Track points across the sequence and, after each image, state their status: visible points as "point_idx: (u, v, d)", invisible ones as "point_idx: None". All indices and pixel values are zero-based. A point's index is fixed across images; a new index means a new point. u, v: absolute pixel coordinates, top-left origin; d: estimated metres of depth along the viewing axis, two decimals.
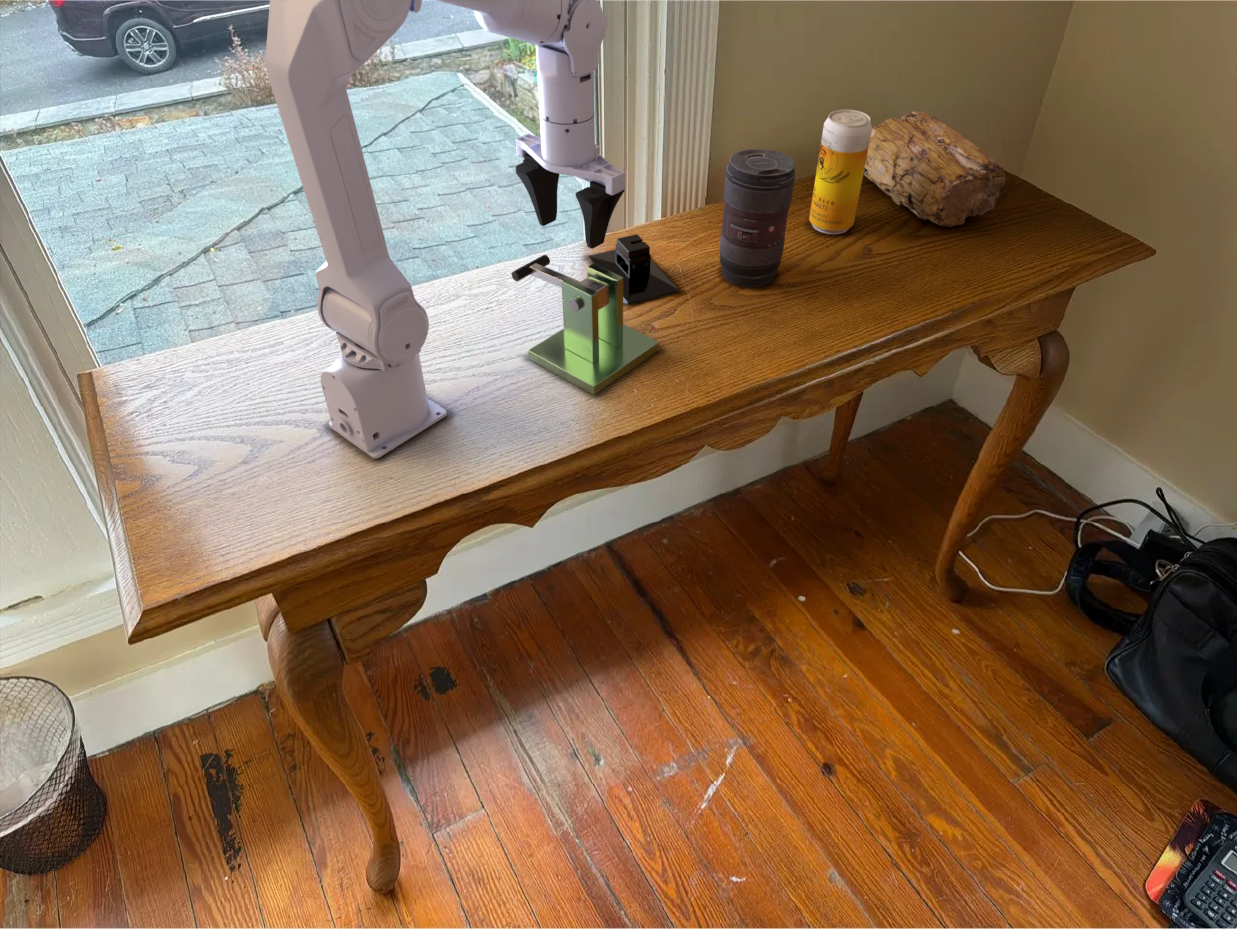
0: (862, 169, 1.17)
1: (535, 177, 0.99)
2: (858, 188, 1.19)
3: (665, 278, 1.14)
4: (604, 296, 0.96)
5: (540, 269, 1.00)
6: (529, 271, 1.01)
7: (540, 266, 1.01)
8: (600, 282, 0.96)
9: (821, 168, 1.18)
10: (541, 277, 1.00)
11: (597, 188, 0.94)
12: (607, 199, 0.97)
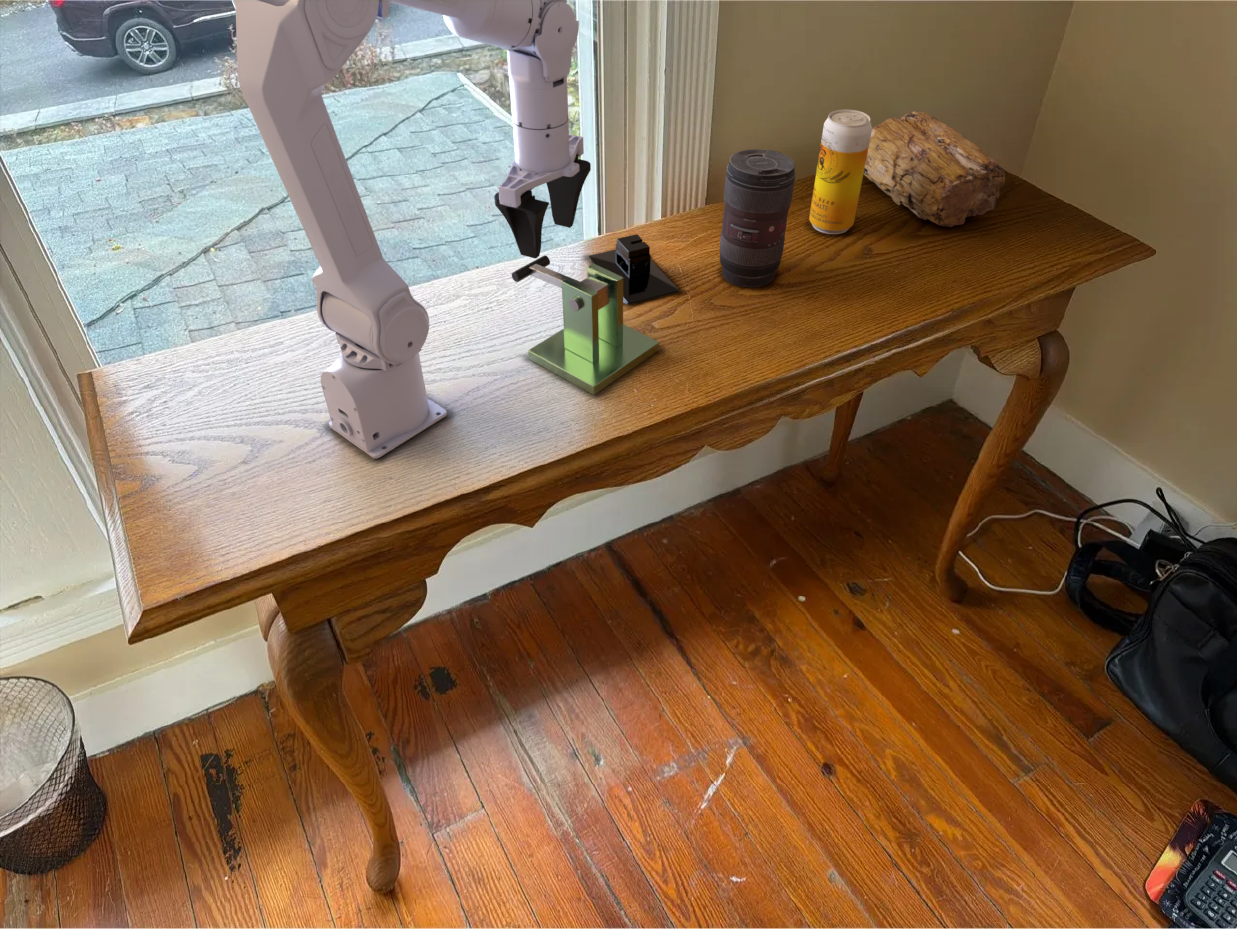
0: (862, 169, 1.17)
1: None
2: (858, 188, 1.19)
3: (665, 278, 1.14)
4: (604, 296, 0.96)
5: (540, 270, 1.00)
6: (529, 272, 1.01)
7: (540, 267, 1.01)
8: (600, 282, 0.96)
9: (821, 168, 1.18)
10: (541, 278, 1.01)
11: None
12: None
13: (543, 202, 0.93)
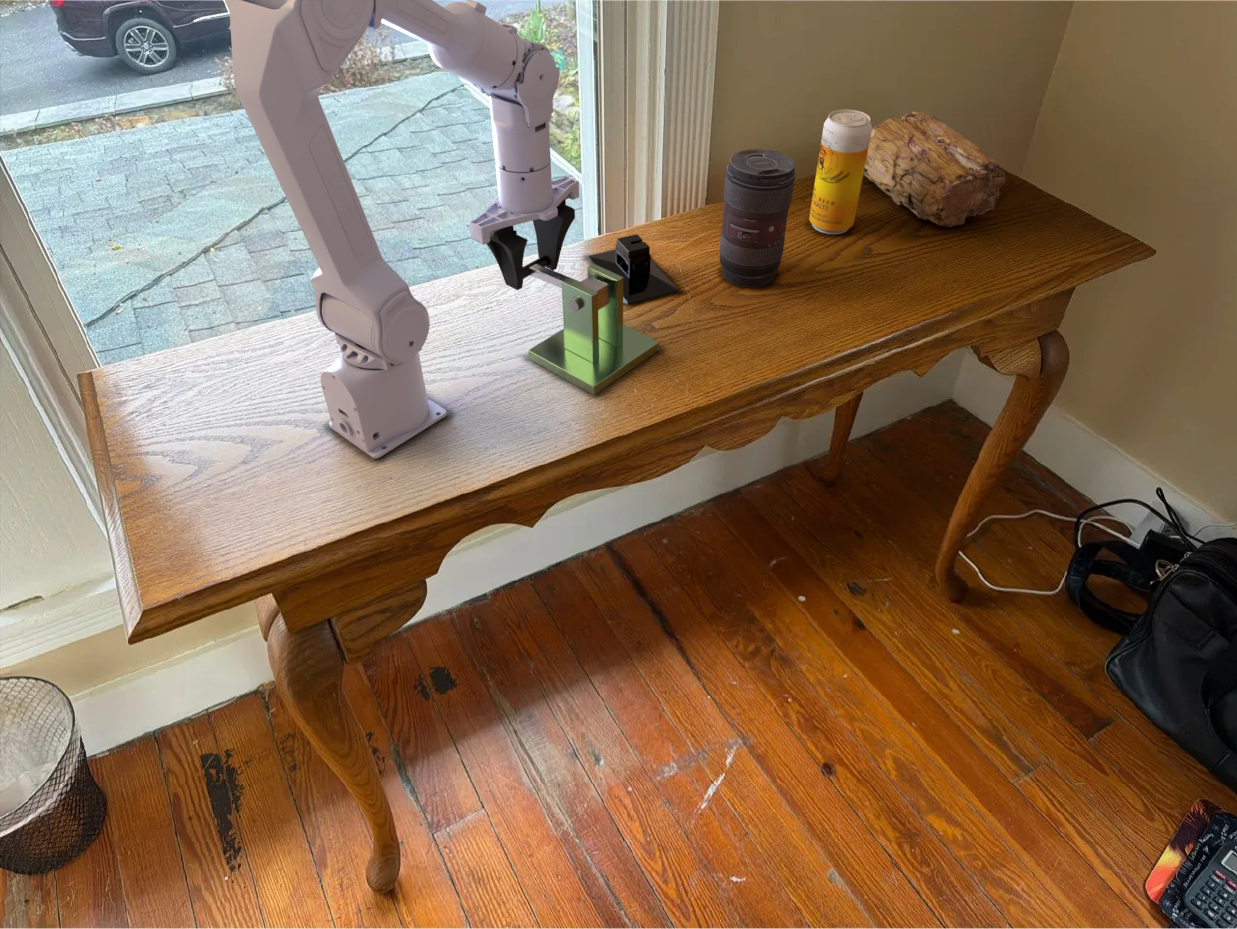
0: (862, 169, 1.17)
1: None
2: (858, 188, 1.19)
3: (665, 278, 1.14)
4: (604, 296, 0.96)
5: (540, 270, 1.00)
6: (529, 272, 1.01)
7: (540, 267, 1.01)
8: (600, 282, 0.96)
9: (821, 168, 1.18)
10: (541, 278, 1.01)
11: None
12: None
13: (521, 238, 0.95)
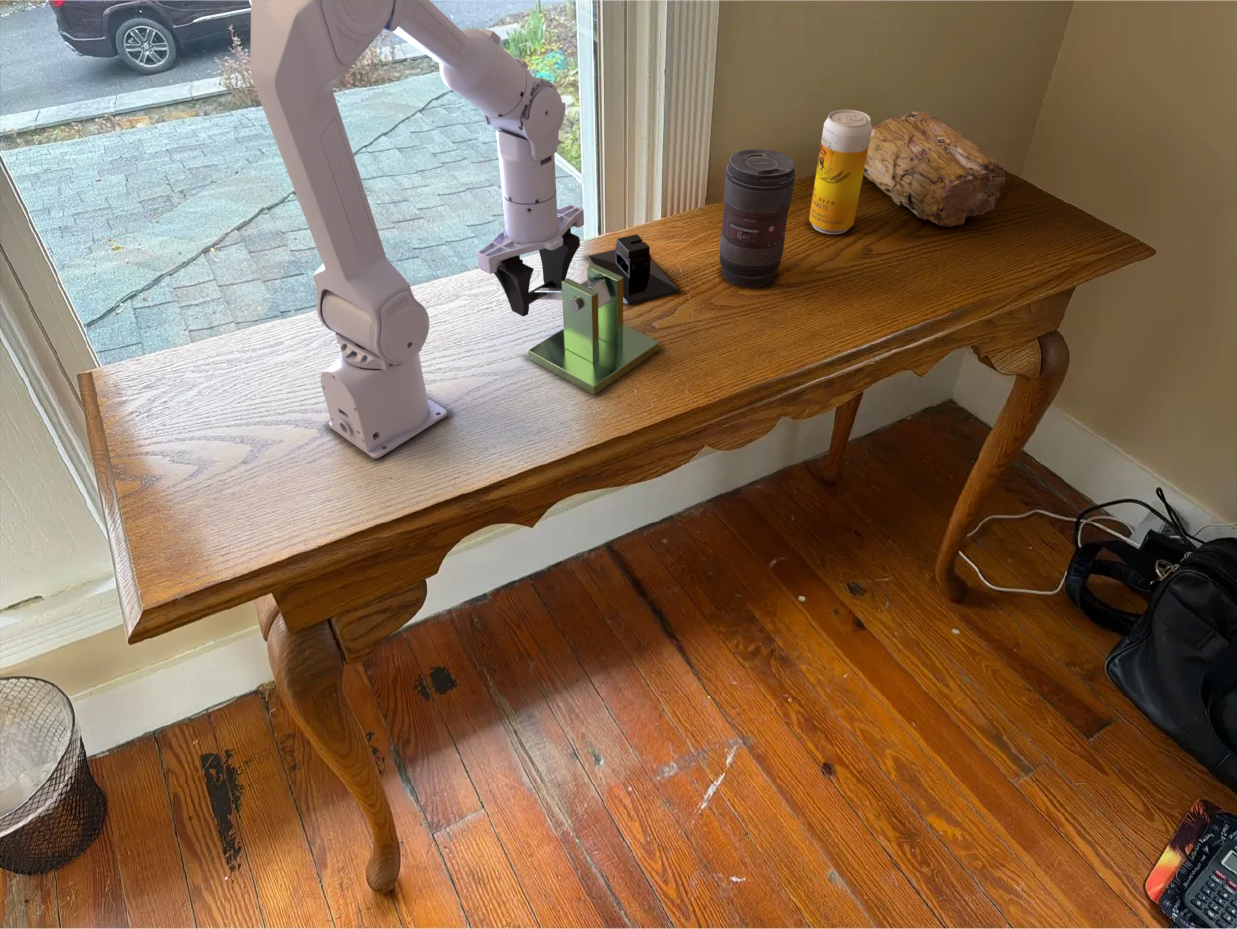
0: (862, 169, 1.17)
1: None
2: (858, 188, 1.19)
3: (665, 278, 1.13)
4: (603, 292, 0.96)
5: (544, 290, 1.02)
6: (535, 295, 1.03)
7: (544, 288, 1.03)
8: (597, 280, 0.96)
9: (821, 168, 1.18)
10: (546, 297, 1.02)
11: None
12: None
13: (527, 267, 0.97)
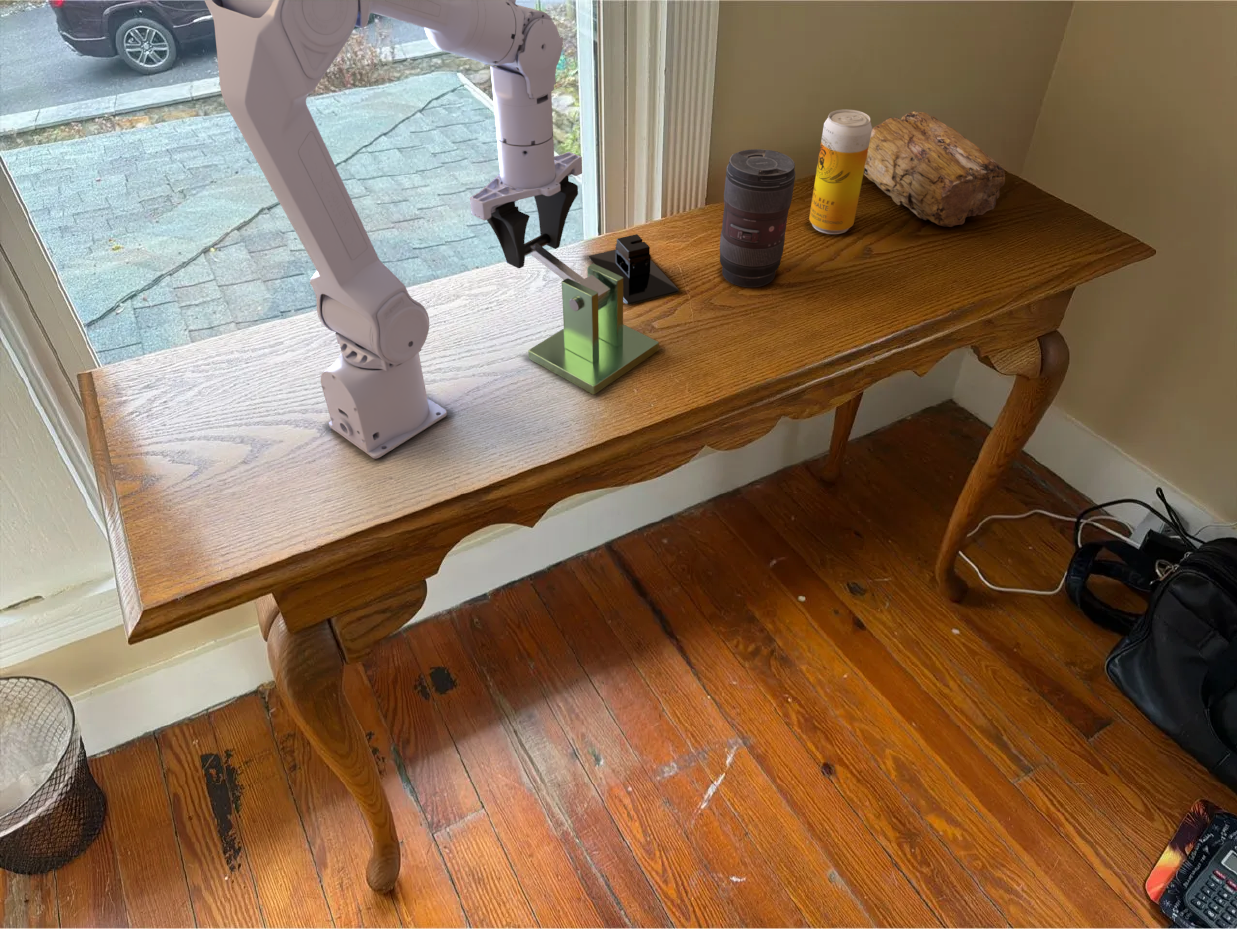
0: (862, 169, 1.17)
1: None
2: (858, 188, 1.19)
3: (665, 278, 1.14)
4: (604, 299, 0.97)
5: (541, 252, 0.99)
6: (529, 251, 0.99)
7: (541, 248, 0.99)
8: (602, 285, 0.96)
9: (821, 168, 1.18)
10: (541, 260, 0.99)
11: None
12: None
13: (523, 214, 0.93)
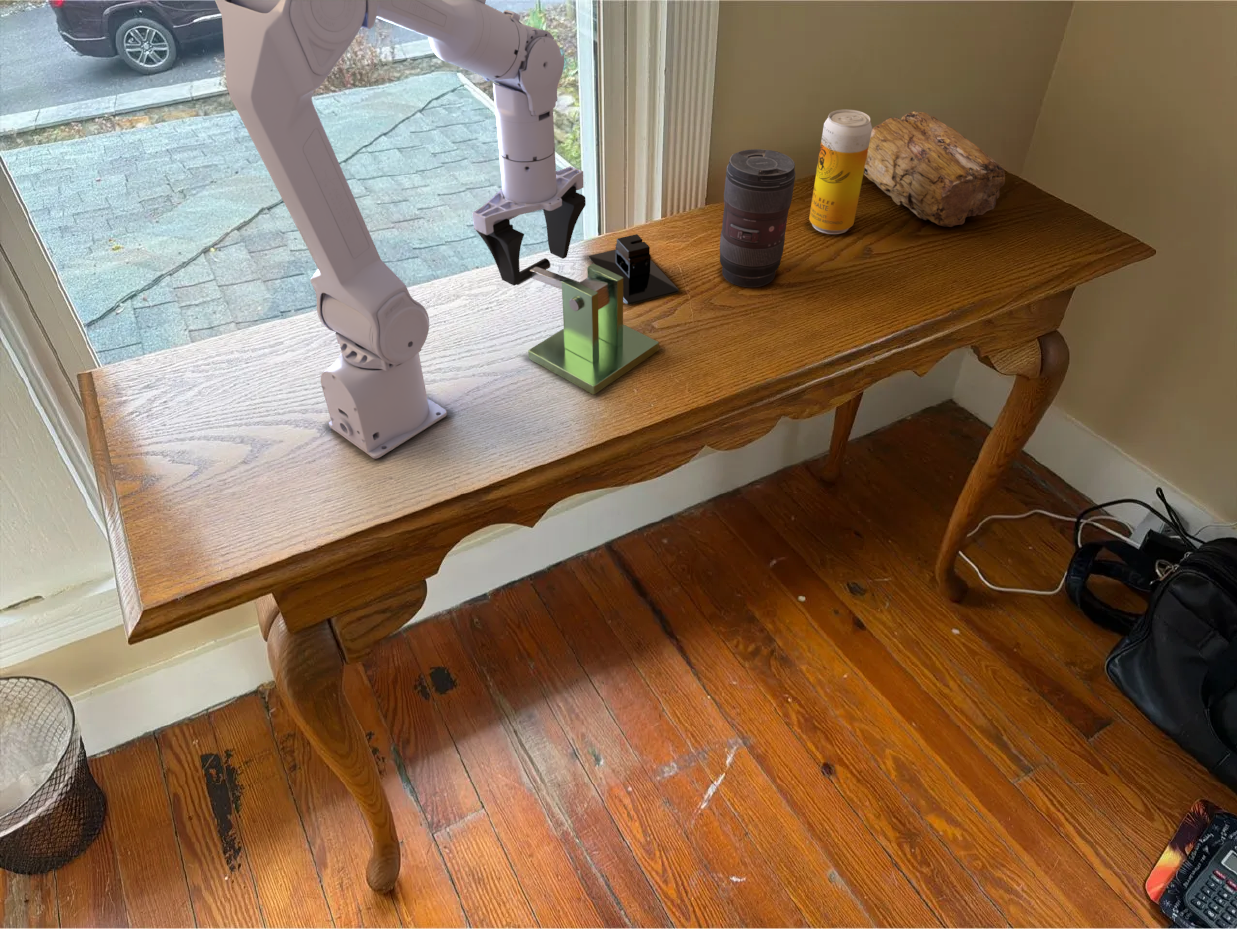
0: (862, 169, 1.17)
1: None
2: (858, 188, 1.19)
3: (665, 278, 1.14)
4: (604, 295, 0.96)
5: (540, 272, 1.01)
6: (529, 274, 1.01)
7: (540, 269, 1.01)
8: (600, 282, 0.96)
9: (821, 168, 1.18)
10: (541, 280, 1.01)
11: None
12: None
13: (518, 232, 0.93)
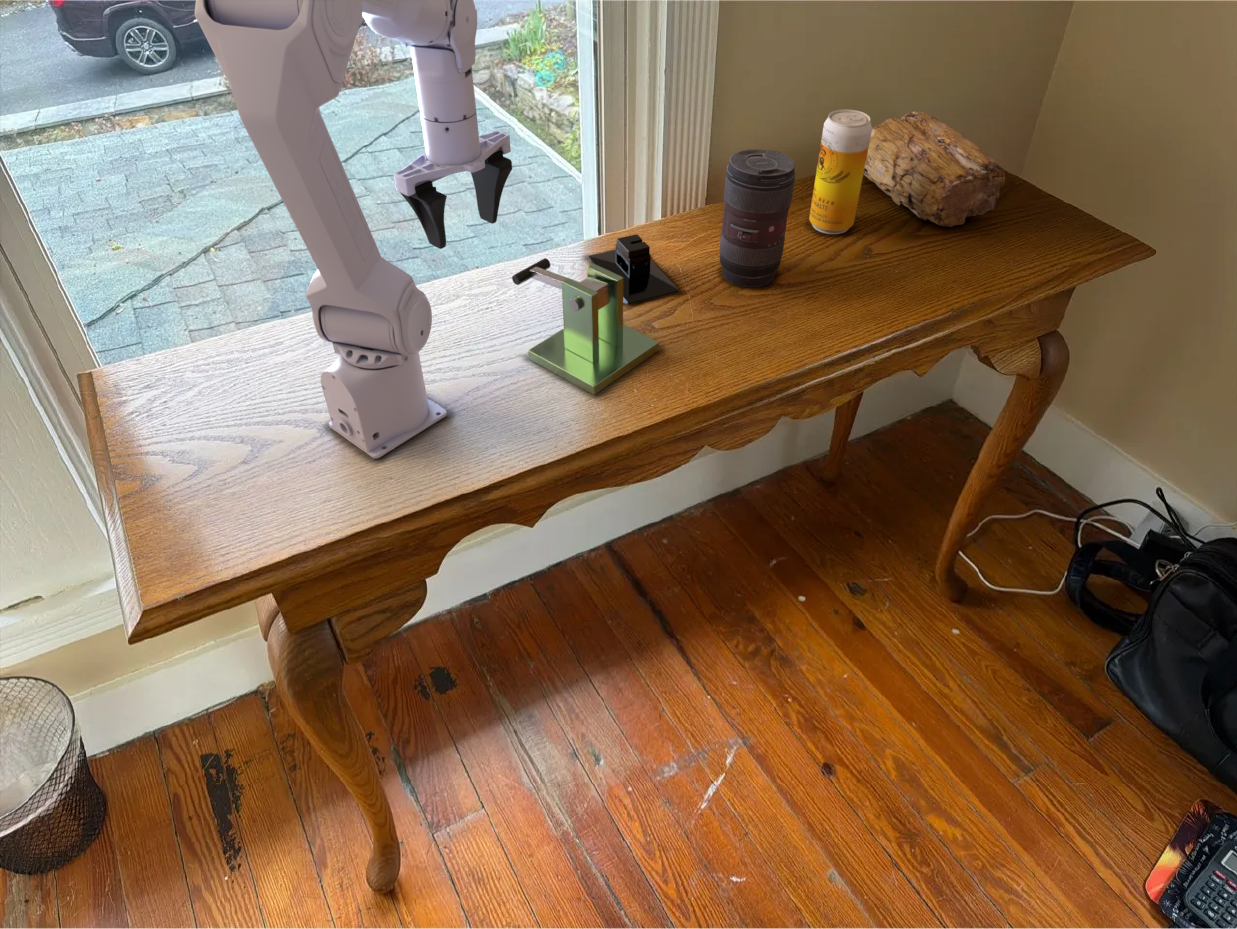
0: (862, 169, 1.17)
1: None
2: (858, 188, 1.19)
3: (665, 278, 1.13)
4: (604, 295, 0.96)
5: (540, 272, 1.01)
6: (529, 274, 1.01)
7: (540, 269, 1.01)
8: (600, 282, 0.96)
9: (821, 168, 1.18)
10: (541, 280, 1.01)
11: None
12: None
13: (440, 194, 0.94)
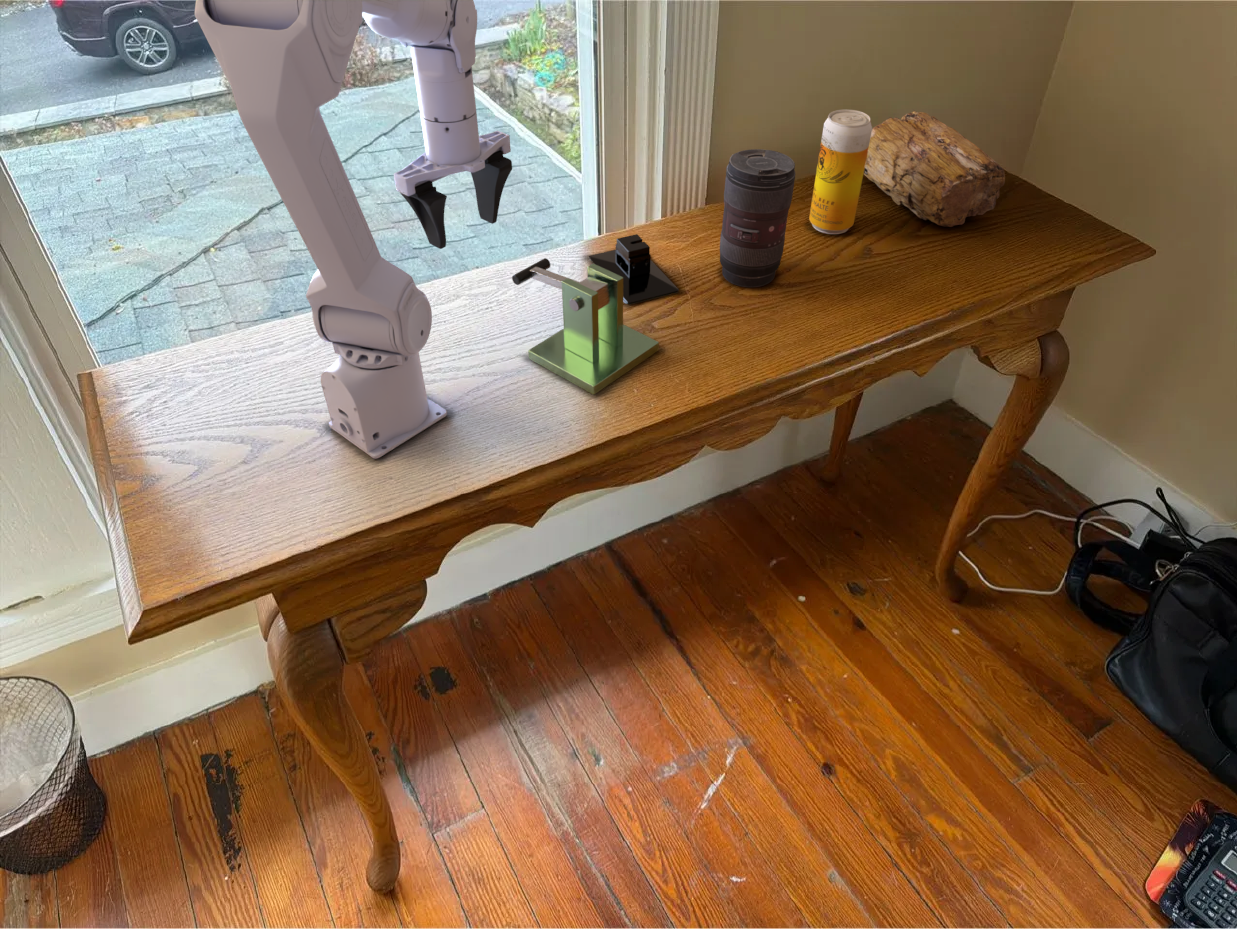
0: (862, 169, 1.17)
1: None
2: (858, 188, 1.19)
3: (665, 278, 1.13)
4: (604, 295, 0.96)
5: (540, 272, 1.01)
6: (529, 274, 1.01)
7: (540, 269, 1.01)
8: (600, 282, 0.96)
9: (821, 168, 1.18)
10: (541, 280, 1.01)
11: None
12: None
13: (440, 194, 0.94)
